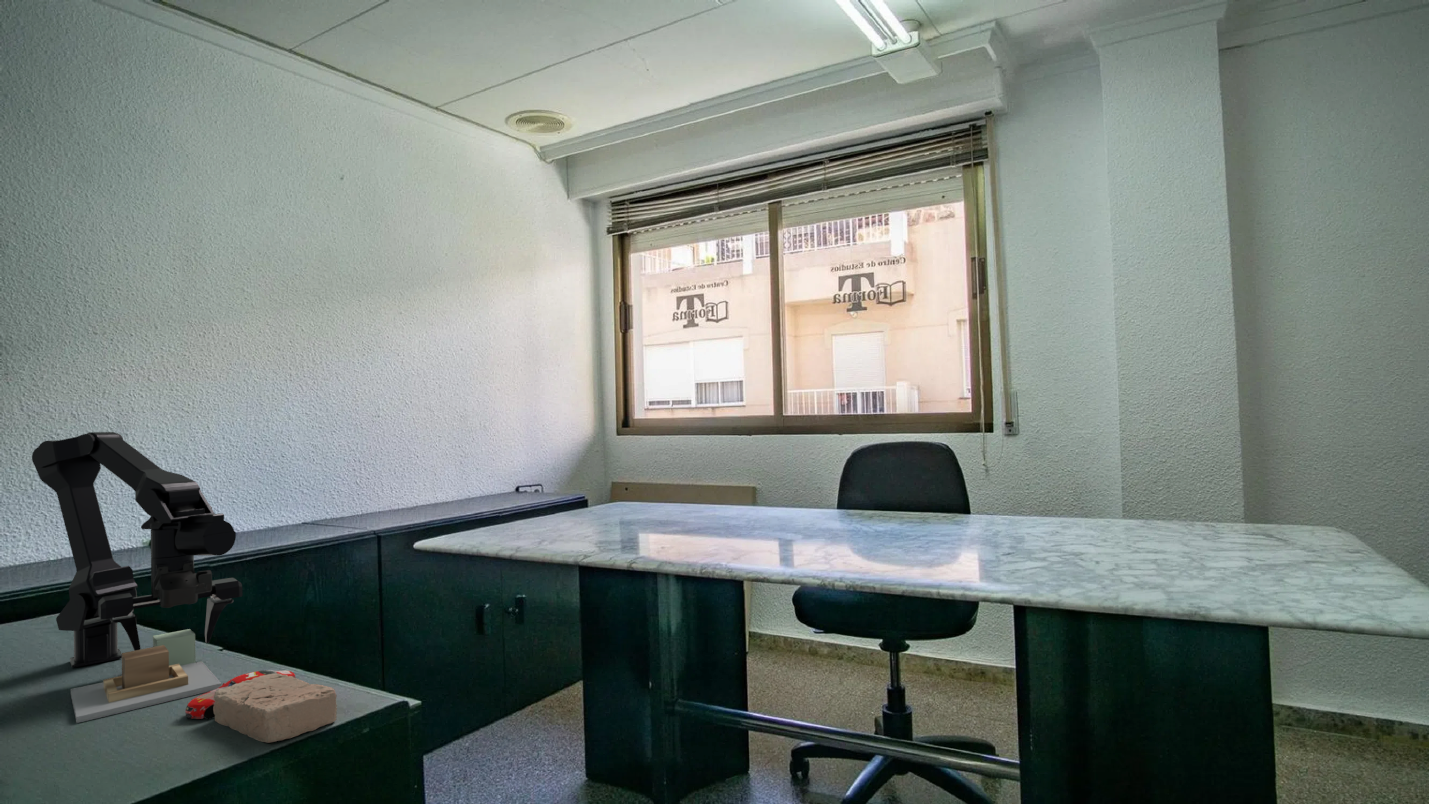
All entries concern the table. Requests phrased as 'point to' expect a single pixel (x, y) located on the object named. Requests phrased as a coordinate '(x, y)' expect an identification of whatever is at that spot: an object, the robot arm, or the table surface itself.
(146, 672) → the walnut block
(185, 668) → the baseplate
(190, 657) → the sage block
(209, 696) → the race car
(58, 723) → the table surface
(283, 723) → the brick
